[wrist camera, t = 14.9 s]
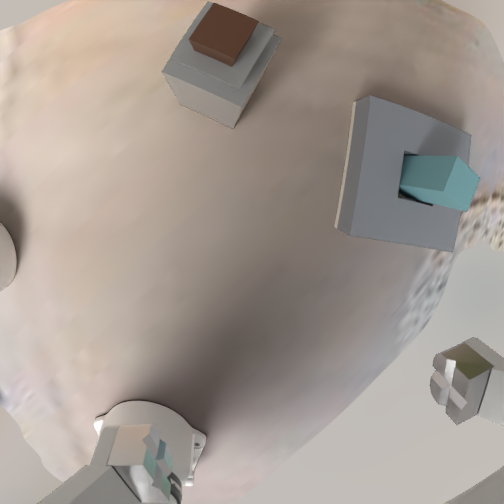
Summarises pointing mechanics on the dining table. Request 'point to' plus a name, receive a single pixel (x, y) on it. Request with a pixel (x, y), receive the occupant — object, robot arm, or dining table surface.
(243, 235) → the dining table surface
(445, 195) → the peg
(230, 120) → the perfume bottle
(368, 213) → the socket block
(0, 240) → the saucepan
